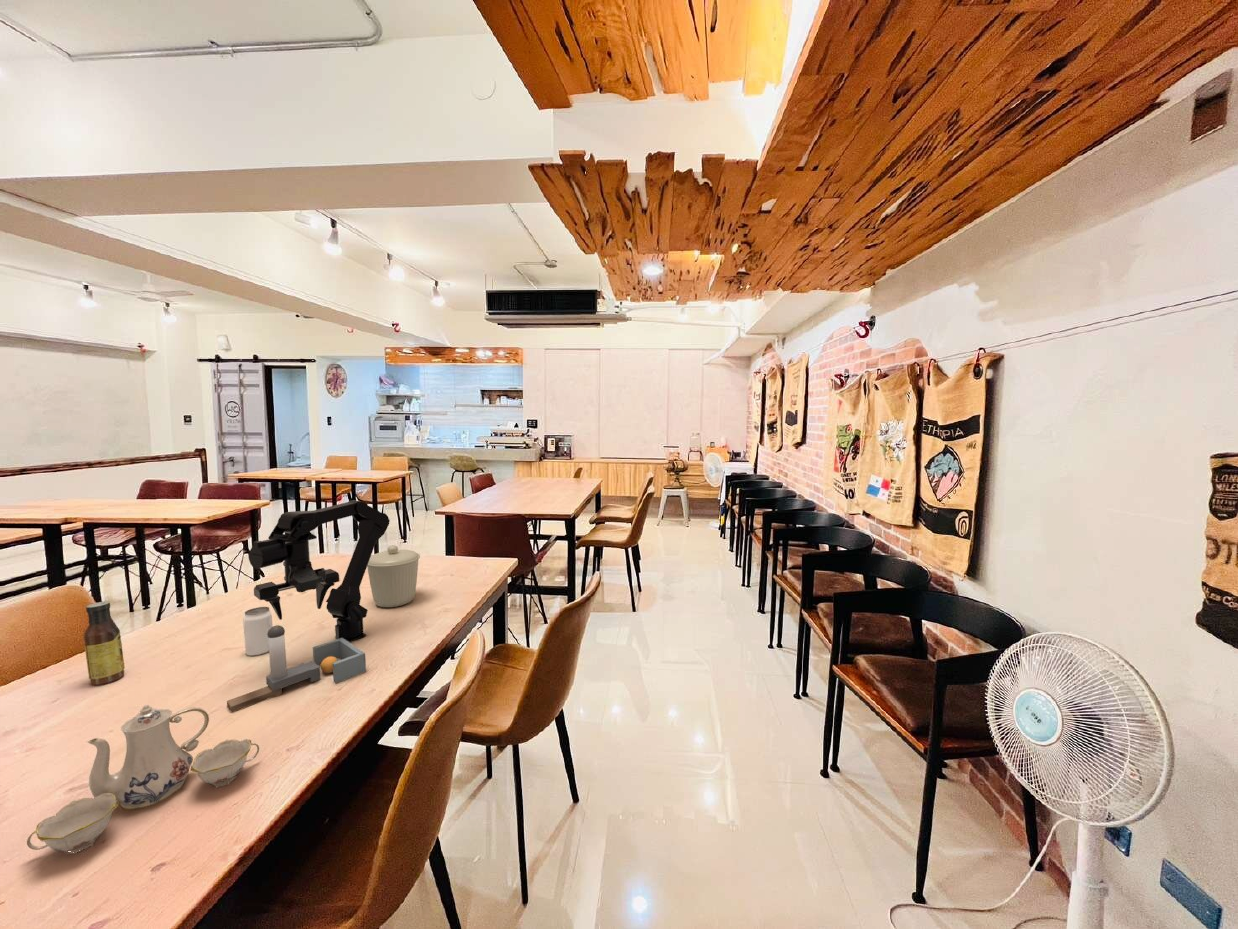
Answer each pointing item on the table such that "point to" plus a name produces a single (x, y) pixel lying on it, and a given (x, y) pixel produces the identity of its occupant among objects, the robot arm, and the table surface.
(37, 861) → the table surface
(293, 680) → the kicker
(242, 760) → the chinaware
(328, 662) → the ball
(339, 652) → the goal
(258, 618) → the can
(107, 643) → the sauce bottle
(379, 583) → the canister
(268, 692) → the rail
